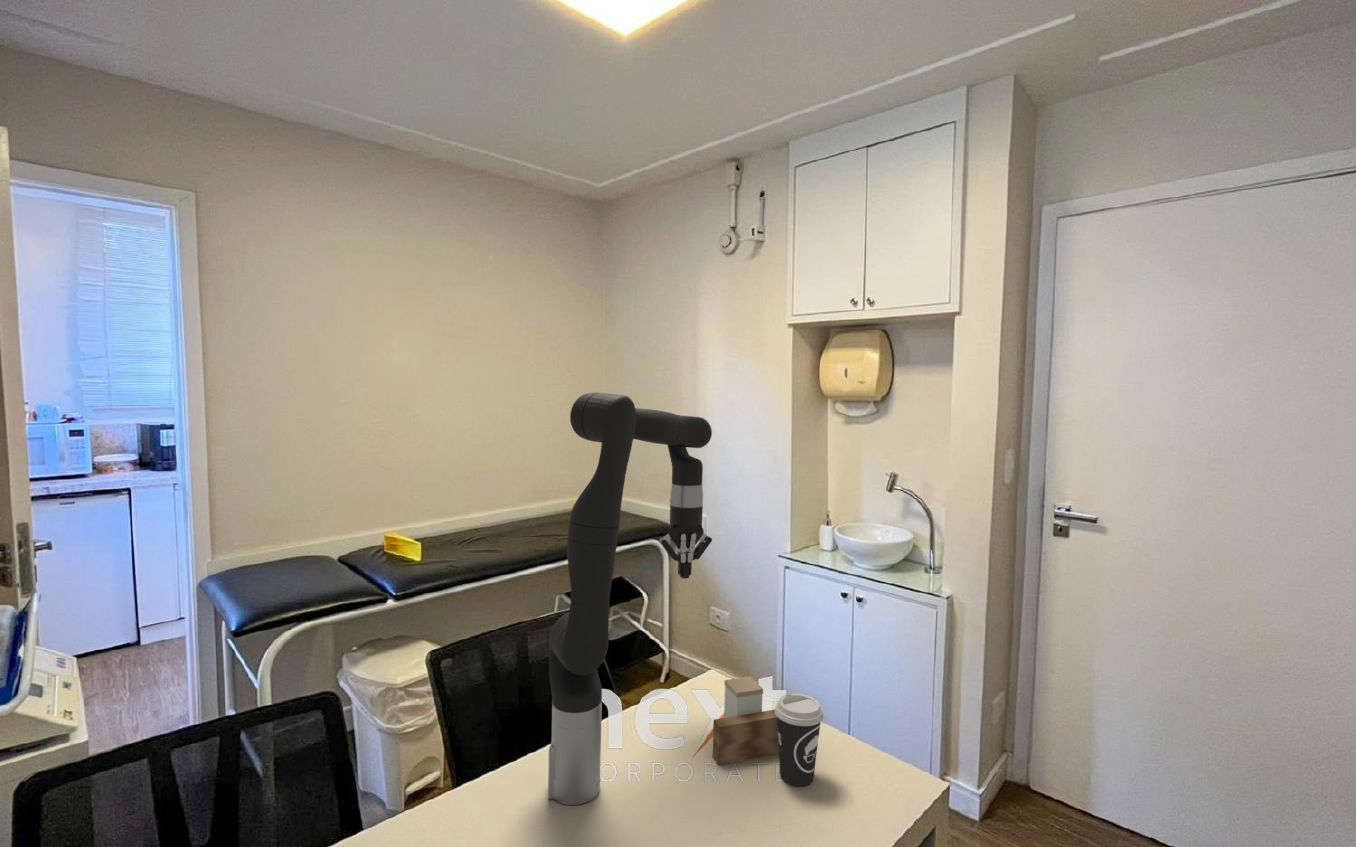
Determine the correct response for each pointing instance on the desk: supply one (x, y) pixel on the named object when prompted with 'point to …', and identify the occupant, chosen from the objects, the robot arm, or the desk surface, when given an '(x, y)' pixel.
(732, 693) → the canister
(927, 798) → the desk surface
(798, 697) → the coffee cup
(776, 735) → the board
